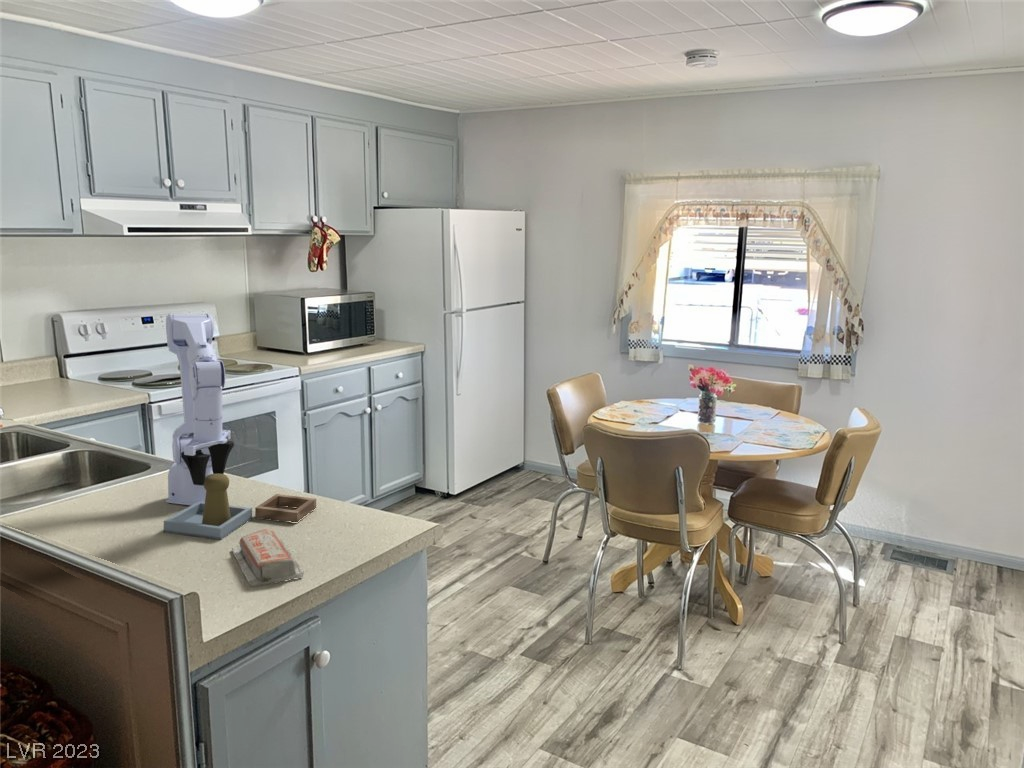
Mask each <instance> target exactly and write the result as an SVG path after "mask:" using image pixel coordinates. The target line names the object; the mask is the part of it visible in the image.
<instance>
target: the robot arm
mask: <svg viewBox="0 0 1024 768" xmlns="http://www.w3.org/2000/svg"><path fill="white" fill-rule="evenodd" d="M214 329H215V328H214V319H213V316H212V315H211V314H210V313H204V314H203V313H200V314H199V313H196V314H195V313H193V314H192V313H188V314H187V313H181V314H180V313H176V314H174V313H168V314H167V315H166V319H165V332H166V334H165V335H166V343H167V345H166V346H167V347H168V351H169V353H170V352H171V353H173V354H174V355H176V358H177V360H178V363H179V371H180V373H179V374H180V385H181V386H180V387H181V397H182V399H181V400H182V409H183V422H184V423H182V424H180V426H178V427H177V428H175V430H174V431H173V433H172V445H171V446H172V447H171V449H172V451H171V452H172V458H173V462H174V463H172V465H171V466H170V467H169V470H168V473H167V491H168V493H167V495H168V496H167V497H168V498H167V500H166V503H168V504H170V503H171V504H176V505H182V506H189V507H190V506H191V505H193V504H195V503H197V502H199V501H200V502H205V497H206V489H205V488H204V483H205V477H206V476H208V475H210V474H224V473H225V470H226V467H227V466H226V465H227V461H228V458H229V456H230V453H231V451H232V449H233V448H234V446H235V445H234V444H235V441H231V429H230V430H227V429H223V388H225V386H226V385H225V384H226V369H225V363H224V362H223V360H221V359H218V357H217V354H216V351H215V348H214V346H213V345H212V341H213V337H214ZM221 387H222V388H221ZM224 475H225V474H224Z"/></svg>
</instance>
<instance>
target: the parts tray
mask: <svg viewBox="0 0 1024 768" xmlns="http://www.w3.org/2000/svg"><path fill="white" fill-rule="evenodd" d="M204 505H205V502H200V501H199V502H197V503H195V504H193V505H191V506H190V505H189V506H188V507H186V508H185V509H183V510H181V511H178V512H177V513H175V514H174V515H172V516H170V517H168V518H166V519H165V520H163V532H164V533H166V532H167V534H173V533H174V534H173V535H180V534H181V536H188V537H197V538H203V539H212V540H219V541H221V540H223V539H225V538H226V537H227V536H229V535H230V534H232V533H233V532H235V531H237V530H238V529H239V528H241V527H242V526H243V524H244V525H245V524H246V522H247V521H248V522H249V520H250V519H251V520H252V519H253V507H246V506H240V505H239V506H238V505H230V504H229V509H230V515H231V519H229V520H228V521H226V522H225V523H223V524H222V525H220V526H213V525H205V524H202V520H203V512H204ZM251 520H250V521H251ZM248 522H247V523H248ZM241 525H242V526H241ZM240 526H241V527H240ZM238 527H239V528H238ZM237 528H238V529H237ZM234 530H235V531H234ZM231 532H232V533H231ZM228 534H229V535H228Z"/></svg>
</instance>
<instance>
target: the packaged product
mask: <svg viewBox="0 0 1024 768" xmlns="http://www.w3.org/2000/svg"><path fill="white" fill-rule="evenodd" d="M238 544H239V546H236V547H231V550H232V553H233V556H234V557H235V559H236V561H237V564H238V565H239V567H240V569H241V572H242V574H243V575H244V577H245V578H246V581H247V583H248V584H249V585H250V587H251V588H255V587H259V586H266V584H267V585H271V583H273V584H277V583H276V582H279V583H281V582H280V581H285V580H289V579H294V578H301V577H303V578H304V573H305V572H304V571H303V569H302V568H301V566H300V565H299V563H298V562H297V561H296V558H295V557H294V556H293V555H292V553H291V551H290V550H289V549H288V547H287V545H286V544H285V543H284V541H283V540H282V539H281V538H279V537H278V536H277V535H276V534H275V531H274V530H272V529H265V528H264V529H259V530H257V531H255V532H253V533H252V532H251V533H249V534H246V535H244V536H242V537H241V538H240V540H239V542H238ZM285 582H286V581H285Z"/></svg>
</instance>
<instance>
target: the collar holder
mask: <svg viewBox="0 0 1024 768" xmlns="http://www.w3.org/2000/svg"><path fill="white" fill-rule="evenodd" d="M281 506H288V507H287V508H289V507H297V508H295V509H293V510H292V509H285V508H278V507H281ZM276 507H277V508H276ZM315 508H316V509H317V498H312V497H304V496H297V495H289V494H281V493H275V494H273V496H271V497H269V498H267V499H266V500H265V501H264V502H262V503H260V504H258V505H257V506H256V507H255V512H254V513H255V519H257V518H263V519H262V520H265V519H271V520H270V521H273V520H279V521H278V522H280V521H291V522H298V521H299V520H300V519H302V518H303V517H304V516H306V515H307V514H308V513H310V512H311V511H312V510H314V509H315ZM314 511H315V510H314ZM310 514H311V513H310ZM306 517H307V516H306Z"/></svg>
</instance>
